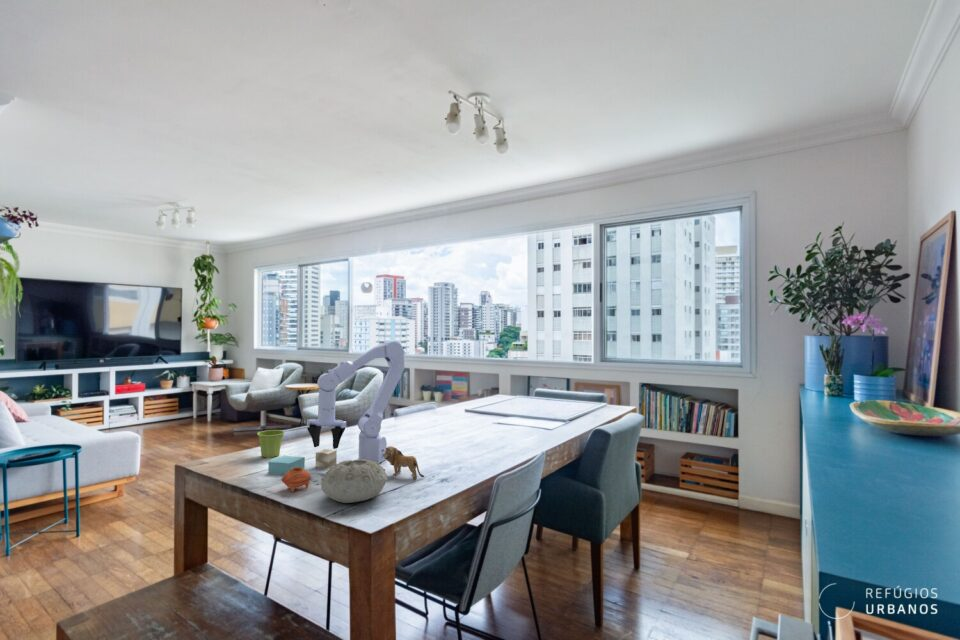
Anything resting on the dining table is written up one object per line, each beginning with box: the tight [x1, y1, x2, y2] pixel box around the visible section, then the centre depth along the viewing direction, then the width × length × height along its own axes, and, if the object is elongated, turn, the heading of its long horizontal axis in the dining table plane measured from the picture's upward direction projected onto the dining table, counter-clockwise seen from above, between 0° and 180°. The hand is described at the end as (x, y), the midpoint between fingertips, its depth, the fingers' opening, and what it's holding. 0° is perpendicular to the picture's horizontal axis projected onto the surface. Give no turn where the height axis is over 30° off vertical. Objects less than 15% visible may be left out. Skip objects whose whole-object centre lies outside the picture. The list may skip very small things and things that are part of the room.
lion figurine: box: [383, 446, 425, 481], centre depth 154 cm, size 15×5×9 cm, turn 69°
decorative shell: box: [320, 459, 388, 504], centre depth 134 cm, size 18×18×10 cm
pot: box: [281, 467, 312, 493], centre depth 141 cm, size 8×8×7 cm
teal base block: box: [267, 455, 306, 476], centre depth 159 cm, size 8×8×4 cm
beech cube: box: [314, 448, 338, 469], centre depth 165 cm, size 5×5×5 cm
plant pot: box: [257, 429, 286, 459], centre depth 177 cm, size 9×9×9 cm
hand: (326, 447), depth 165 cm, fingers open, 7 cm apart
